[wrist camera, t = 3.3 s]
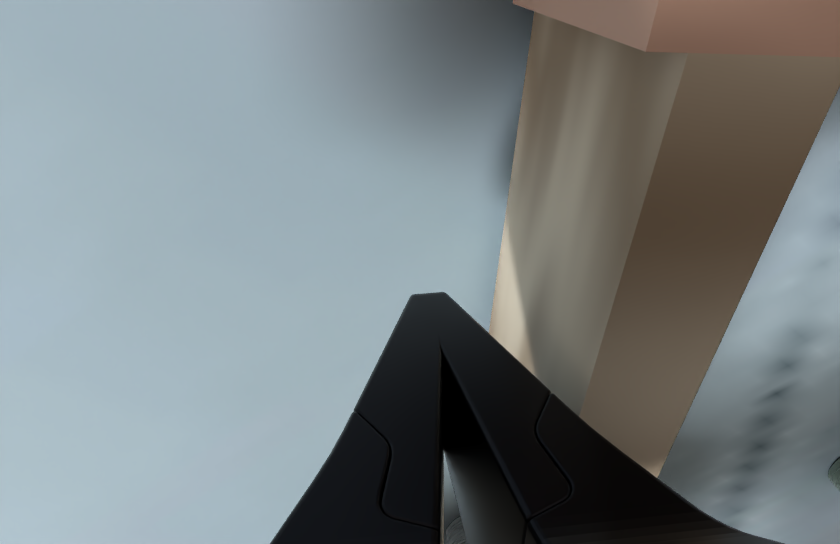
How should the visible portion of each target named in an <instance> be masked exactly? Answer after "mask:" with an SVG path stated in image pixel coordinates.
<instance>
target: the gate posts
mask: <svg viewBox="0 0 840 544" xmlns="http://www.w3.org/2000/svg"><path fill="white" fill-rule="evenodd" d="M828 477H829V479H830V481H831V482H832V483H833V484H834V485H835V486H836V487H837V489H838V490H839V491H840V458H839V459H838V460H837V461H836V462H835V463H834V464H833V465H832V466H831V468H830V470H829V473H828ZM446 540H447V544H468V543H467V539H466V535H465V531H464V527H463V524H462V520H461V516H460V517H458V518H457V519H455V520H454V521H453V522H451V523H450V525H449V526H448V527H447V530H446Z"/></svg>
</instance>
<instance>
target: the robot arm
mask: <svg viewBox="0 0 840 544" xmlns="http://www.w3.org/2000/svg"><path fill="white" fill-rule="evenodd" d="M444 453H445V457H446V461H447V465H448V469H449V473H450V477H451V480H452V484H453V488H454V492H455V496H456V500H457V504H458V508H459V512H460V516H461V520H462V524H463V527H464V531H465V535H466V539H467V543H468V544H784V543H780V542H777V541H773V540H769V539H766V538H762V537H758V536H755V535H751V534H748V533H745V532H742V531H739V530H737V529H734V528H732V527H730V526H728V525H726V524H724V523H722V522H720V521H718V520H716V519H714V518H713V517H711V516H709V515H708V514H706V513H704V512H703V511H701V510H700V509H698V508H697V507H695V506H694V505H693V504H691V503H690V502H688V501H687V500H686V499H684V498H683V497H682V496H680V495H679V494H678V493H676V492H675V491H674V490H672V489H671V488H670V487H668V486H667V485H666V484H665V483H663V482H662V481H661V480H659V479H658V478H657V477H655V476H654V475H653V474H651V473H650V472H649V471H647V470H646V469H645V468H643V467H642V466H641V465H639V464H638V463H637V462H635V461H634V460H633V459H631V458H630V457H629V456H627V455H626V454H625V453H623V452H622V451H621V450H619V449H618V448H617V447H616V446H614V445H613V444H612V443H611V442H609V441H608V440H607V439H606V438H604V437H603V436H602V435H600V434H599V433H598V432H597V431H595V430H594V429H593V428H592V427H590V426H589V425H588V424H587V423H586V422H585V421H584V420H582V419H581V418H580V417H579V416H578V415H577V414H576V413H575V412H573V411H572V410H571V409H570V408H569V407H568V406H567V405H566V404H564V403H563V402H562V401H561V400H560V399H559V398H558V397H557V396H556V395H555V394H553V393H552V394H551V391H550V390H549V389H548V388H547V387H546V386H545V385H544V384H543V383H542V382H541V381H540V380H539V379H537V378H536V377H535V376H534V375H533V374H532V373H531V372H530V371H529V370H528V369H527V368H526V367H525V366H524V365H522V364H521V363H520V362H519V361H518V360H517V359H516V358H515V357H514V356H513V355H512V354H511V353H510V352H509V351H507V350H506V349H505V348H504V347H503V346H502V345H501V344H500V343H499V342H498V341H497V340H496V339H495V338H494V337H492V336H491V335H490V334H489V333H488V332H487V331H486V330H485V329H484V328H483V327H482V326H481V325H480V324H479V323H477V322H476V321H475V320H474V319H473V318H472V317H471V316H470V315H469V314H468V313H467V312H466V311H465V310H464V309H462V308H461V307H460V306H459V305H458V304H457V303H456V302H455V301H454V300H453V299H452V298H451V297H450V296H449V295H447V294H446V293H444V292H438V293H426V294H414V295H412V296H411V297H410V298H409V300H408V302H407V304H406V306H405V308H404V310H403V312H402V314H401V316H400V318H399V320H398V322H397V324H396V326H395V328H394V330H393V332H392V334H391V336H390V338H389V340H388V342H387V344H386V346H385V348H384V350H383V352H382V354H381V356H380V358H379V360H378V362H377V364H376V366H375V368H374V370H373V372H372V374H371V376H370V378H369V380H368V382H367V384H366V386H365V388H364V390H363V392H362V394H361V396H360V398H359V400H358V402H357V404H356V406H355V408H354V412H353V413H352V414H351V416H350V418H349V420H348V422H347V424H346V426H345V428H344V430H343V432H342V434H341V435H340V437H339V439H338V441H337V443H336V445H335V446H334V448H333V450H332V452H331V454H330V455H329V457H328V458H327V460H326V461H325V463H324V465H323V466H322V468H321V469H320V471H319V472H318V474H317V475H316V477H315V479H314V480H313V482H312V483H311V485H310V486H309V487H308V489H307V490H306V492H305V493H304V495H303V496H302V498H301V499H300V501H299V502H298V504H297V505H296V506H295V508H294V509H293V511H292V512H291V514H290V515H289V517H288V518H287V520H286V521H285V523H284V524H283V525H282V527H281V528H280V530H279V531H278V533H277V534H276V536H275V537H274V539H273V540H272V542H271V543H270V544H443V523H444Z"/></svg>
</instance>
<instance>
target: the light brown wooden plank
mask: <svg viewBox="0 0 840 544" xmlns="http://www.w3.org/2000/svg"><path fill="white" fill-rule="evenodd" d="M513 4H515V5H518V6H521V7H524V8H526V9H529V10H532V11H534V17H533V24H532V31H531V38H530V45H529V52H528V59H527V66H526V74H525V81H524V88H523V95H522V102H521V109H520V116H519V123H518V130H517V137H516V144H515V151H514V158H513V165H512V172H511V180H510V187H509V194H508V201H507V208H506V215H505V222H504V229H503V236H502V243H501V250H500V257H499V264H498V271H497V278H496V286H495V293H494V300H493V307H492V314H491V321H490V328H489V334H490V335H491V336H492V337H494V338H495V339H496V340H497V341H498V342H499V343H500V344H501V345H502V346H503V347H504V348H505V349H506V350H507V351H509V352H510V353H511V354H512V355H513V356H514V357H515V358H516V359H517V360H518V361H519V362H520V363H521V364H522V365H524V366H525V367H526V368H527V369H528V370H529V371H530V372H531V373H532V374H533V375H534V376H535V377H536V378H537V379H539V380H540V381H541V382H542V383H543V384H544V385H545V386H546V387H547V388H548V389H549V390H550V391H551V394H552V393H553V394H555V395H556V396H557V397H558V398H559V399H560V400H561V401H562V402H563V403H564V404H566V405H567V406H568V407H569V408H570V409H571V410H572V411H573V412H575V413H576V414H577V415H578V416H579V417H580V418H581V419H582V420H584V421H585V422H586V423H587V424H588V425H589V426H590V427H592V428H593V429H594V430H595V431H597V432H598V433H599V434H600V435H602V436H603V437H604V438H606V439H607V440H608V441H609V442H611V443H612V444H613V445H614V446H616V447H617V448H618V449H619V450H621V451H622V452H623V453H625V454H626V455H627V456H629V457H630V458H631V459H633V460H634V461H635V462H637V463H638V464H639V465H641V466H642V467H643V468H645V469H646V470H647V471H649V472H650V473H651V474H653V475H654V476H655V477H657V478H658V475H659V473H660V471H661V469H662V467H663V465H664V463H665V460H666V458H667V456H668V454H669V452H670V450H671V448H672V445H673V443H674V441H675V439H676V437H677V435H678V432H679V430H680V428H681V426H682V424H683V422H684V420H685V417H686V415H687V413H688V411H689V409H690V407H691V405H692V402H693V400H694V398H695V396H696V394H697V392H698V390H699V387H700V385H701V383H702V381H703V379H704V377H705V375H706V372H707V370H708V368H709V366H710V364H711V362H712V359H713V357H714V355H715V353H716V351H717V349H718V347H719V344H720V342H721V340H722V338H723V336H724V334H725V332H726V329H727V327H728V325H729V323H730V321H731V319H732V317H733V314H734V312H735V310H736V308H737V306H738V304H739V301H740V299H741V297H742V295H743V293H744V291H745V289H746V286H747V284H748V282H749V280H750V278H751V276H752V274H753V271H754V269H755V267H756V265H757V263H758V261H759V259H760V256H761V254H762V252H763V250H764V248H765V246H766V243H767V241H768V239H769V237H770V235H771V233H772V231H773V228H774V226H775V224H776V222H777V220H778V218H779V216H780V213H781V211H782V209H783V207H784V205H785V203H786V201H787V198H788V196H789V194H790V192H791V190H792V188H793V185H794V183H795V181H796V179H797V177H798V175H799V173H800V170H801V168H802V166H803V164H804V162H805V160H806V158H807V155H808V153H809V151H810V149H811V147H812V145H813V143H814V140H815V138H816V136H817V134H818V132H819V130H820V128H821V125H822V123H823V121H824V119H825V117H826V115H827V112H828V110H829V108H830V106H831V104H832V102H833V100H834V97H835V95H836V93H837V91H838V89H839V87H840V0H513Z"/></svg>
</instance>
